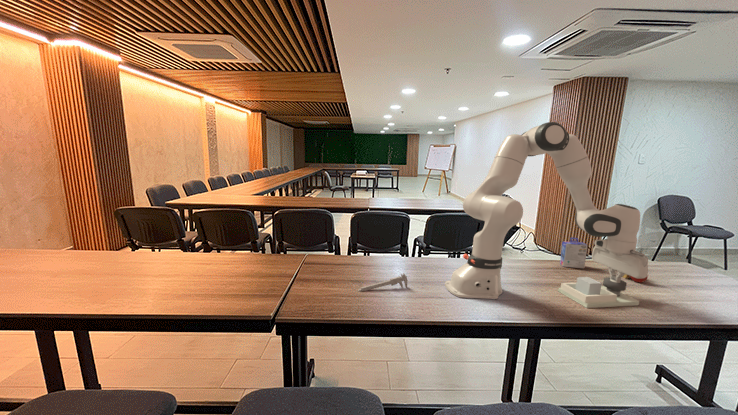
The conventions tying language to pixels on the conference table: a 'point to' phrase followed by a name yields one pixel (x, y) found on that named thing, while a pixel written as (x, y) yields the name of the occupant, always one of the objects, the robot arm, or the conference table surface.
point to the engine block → (588, 286)
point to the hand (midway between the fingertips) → (615, 280)
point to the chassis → (597, 297)
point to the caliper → (387, 283)
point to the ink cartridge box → (573, 253)
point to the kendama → (635, 278)
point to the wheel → (614, 284)
